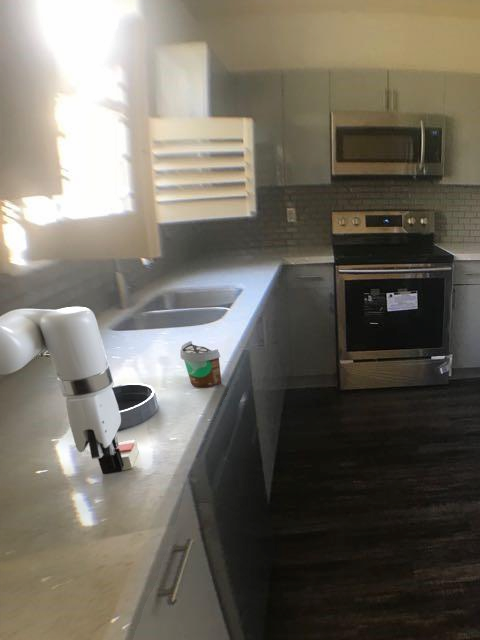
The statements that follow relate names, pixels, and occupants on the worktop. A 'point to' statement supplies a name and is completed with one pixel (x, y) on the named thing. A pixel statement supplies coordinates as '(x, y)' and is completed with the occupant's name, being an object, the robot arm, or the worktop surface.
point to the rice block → (128, 453)
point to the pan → (135, 403)
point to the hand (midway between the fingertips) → (113, 470)
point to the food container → (201, 365)
